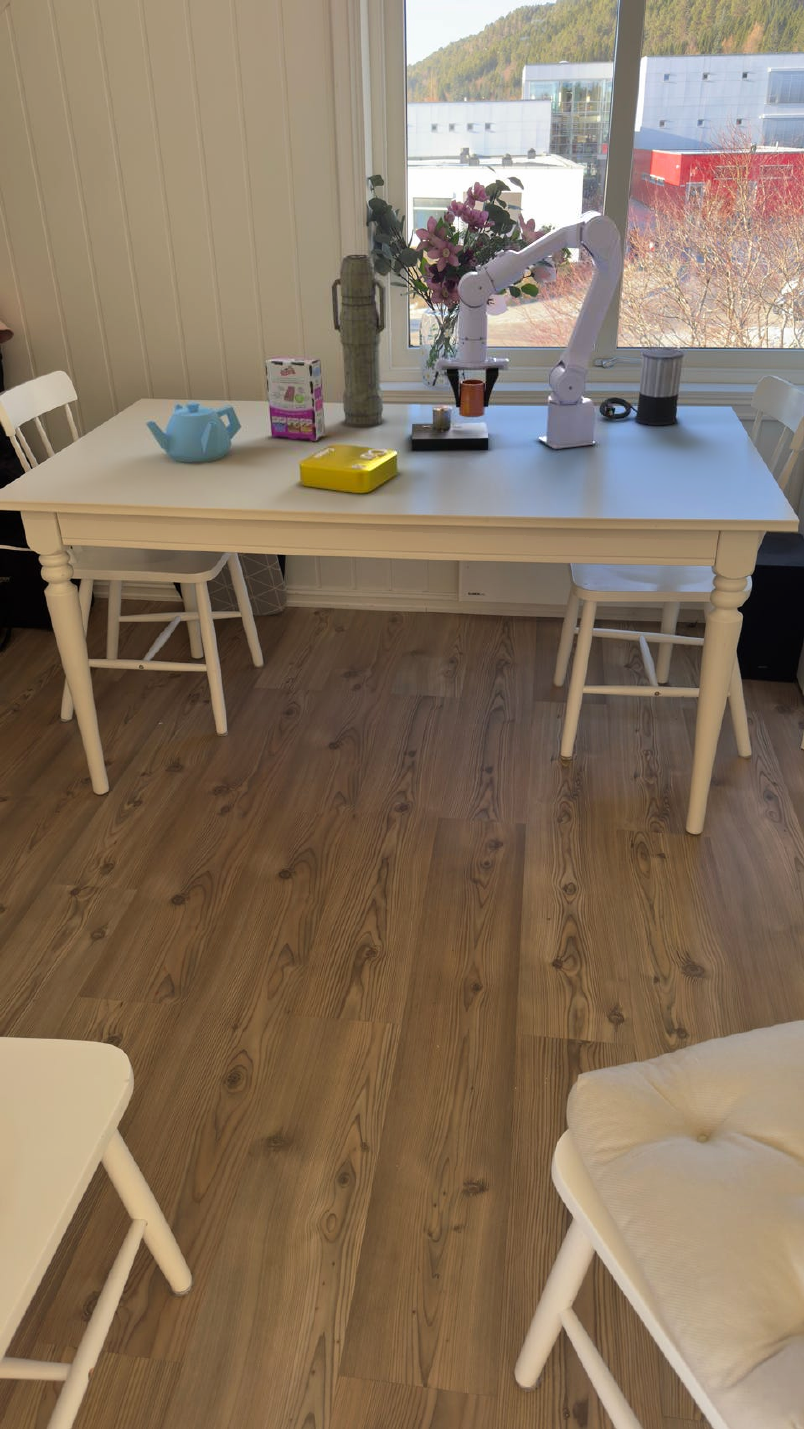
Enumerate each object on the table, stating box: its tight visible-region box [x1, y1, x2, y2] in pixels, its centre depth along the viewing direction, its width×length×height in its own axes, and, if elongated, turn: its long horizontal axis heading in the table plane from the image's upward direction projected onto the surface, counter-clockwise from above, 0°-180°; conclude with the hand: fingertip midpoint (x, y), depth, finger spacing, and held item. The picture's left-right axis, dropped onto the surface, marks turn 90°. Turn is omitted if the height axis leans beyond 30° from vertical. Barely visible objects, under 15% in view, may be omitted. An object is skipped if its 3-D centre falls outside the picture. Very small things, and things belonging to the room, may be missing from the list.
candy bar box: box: [264, 356, 326, 442], centre depth 221 cm, size 11×5×16 cm, turn 68°
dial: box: [432, 405, 452, 429], centre depth 219 cm, size 4×4×4 cm
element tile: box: [298, 443, 398, 494], centre depth 198 cm, size 15×15×5 cm
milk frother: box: [598, 347, 685, 426], centre depth 228 cm, size 14×16×15 cm
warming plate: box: [411, 422, 489, 452], centre depth 219 cm, size 16×13×3 cm
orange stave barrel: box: [458, 378, 486, 418], centre depth 212 cm, size 5×5×6 cm
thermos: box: [331, 254, 387, 428], centre depth 226 cm, size 9×12×35 cm
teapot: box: [145, 401, 242, 464], centre depth 212 cm, size 15×15×11 cm
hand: (471, 406), depth 213 cm, fingers closed on orange stave barrel, 5 cm apart
